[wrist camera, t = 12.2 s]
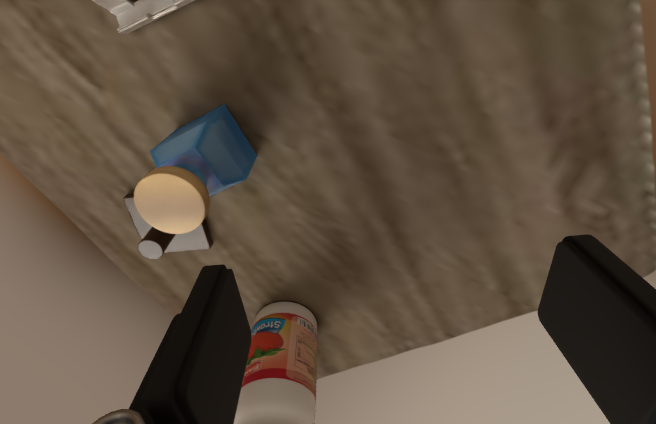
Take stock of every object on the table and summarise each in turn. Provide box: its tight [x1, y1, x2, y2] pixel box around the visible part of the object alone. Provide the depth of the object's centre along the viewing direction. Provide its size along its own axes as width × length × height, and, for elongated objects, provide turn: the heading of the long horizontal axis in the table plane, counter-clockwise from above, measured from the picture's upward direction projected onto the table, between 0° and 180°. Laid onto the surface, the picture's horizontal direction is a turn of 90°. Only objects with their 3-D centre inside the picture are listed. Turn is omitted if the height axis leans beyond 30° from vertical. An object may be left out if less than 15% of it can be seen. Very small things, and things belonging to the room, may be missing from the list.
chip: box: [134, 166, 210, 234], centre depth 26 cm, size 5×5×1 cm
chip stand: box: [123, 194, 212, 259], centre depth 40 cm, size 8×8×6 cm
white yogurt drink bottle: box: [234, 302, 317, 424], centre depth 39 cm, size 9×9×28 cm
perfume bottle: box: [150, 104, 257, 197], centre depth 32 cm, size 6×6×12 cm
